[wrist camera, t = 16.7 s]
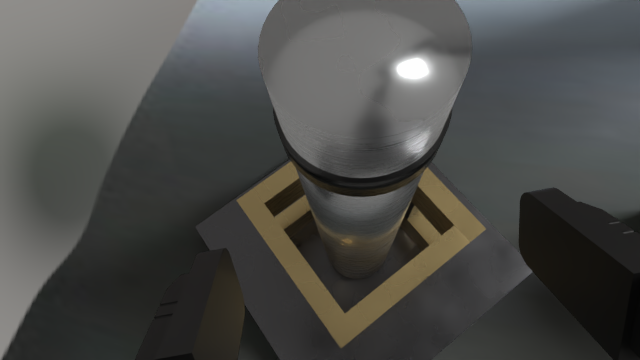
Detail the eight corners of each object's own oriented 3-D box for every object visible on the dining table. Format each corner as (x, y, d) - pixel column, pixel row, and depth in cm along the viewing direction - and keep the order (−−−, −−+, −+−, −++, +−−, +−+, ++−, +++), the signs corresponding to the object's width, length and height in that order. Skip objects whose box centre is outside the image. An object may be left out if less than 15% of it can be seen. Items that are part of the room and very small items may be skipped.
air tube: (361, 205, 27) (376, -71, 8) (402, 253, 26) (528, 50, 7) (312, 242, 26) (213, 32, 8) (351, 294, 25) (343, 188, 6)
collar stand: (371, 110, 31) (377, 24, 22) (525, 272, 26) (614, 243, 17) (202, 231, 29) (135, 188, 20) (335, 437, 24) (323, 502, 15)
